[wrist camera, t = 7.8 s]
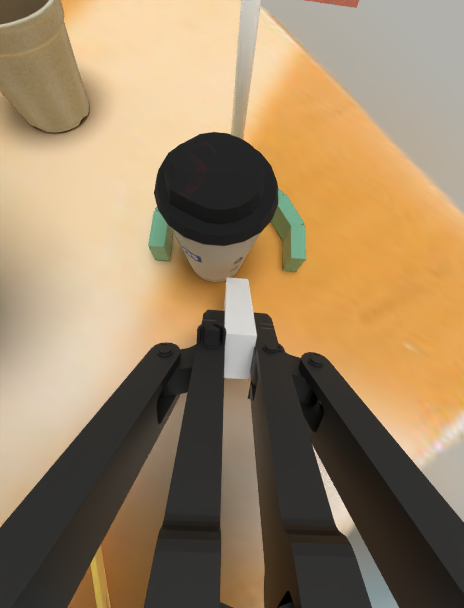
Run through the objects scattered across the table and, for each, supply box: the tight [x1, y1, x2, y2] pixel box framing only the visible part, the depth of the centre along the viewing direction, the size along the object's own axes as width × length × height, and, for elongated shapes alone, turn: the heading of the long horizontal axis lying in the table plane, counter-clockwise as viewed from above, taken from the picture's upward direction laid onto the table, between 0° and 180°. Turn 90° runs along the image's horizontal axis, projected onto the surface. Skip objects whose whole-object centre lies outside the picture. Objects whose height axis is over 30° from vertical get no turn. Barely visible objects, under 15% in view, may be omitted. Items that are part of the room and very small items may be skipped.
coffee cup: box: [154, 132, 278, 282], centre depth 17 cm, size 7×7×10 cm
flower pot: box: [0, 0, 89, 132], centre depth 21 cm, size 9×9×9 cm
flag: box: [231, 0, 359, 139], centre depth 17 cm, size 6×1×17 cm, turn 87°
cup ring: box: [148, 189, 306, 272], centre depth 22 cm, size 12×8×2 cm, turn 87°
